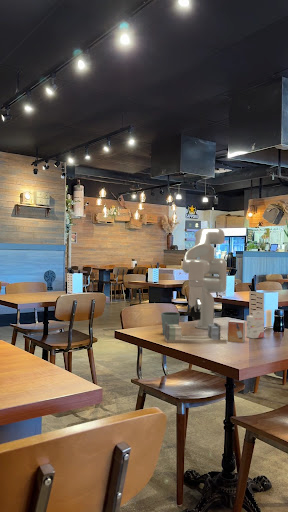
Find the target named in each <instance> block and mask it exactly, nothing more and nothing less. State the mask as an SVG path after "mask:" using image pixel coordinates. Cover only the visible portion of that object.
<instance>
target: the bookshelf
mask: <svg viewBox="0 0 288 512" xmlns="http://www.w3.org/2000/svg"><path fill="white" fill-rule="evenodd" d="M221 327H222V326H221V325H220V324H218V323H217V322H213V325H208V329H207V335H182V326H180V324H179V325H168V323H165V335H163V339H164V340H165V342H166V343H167V344H205V345H206V344H209V345H210V344H211V345H212V344H214V345H216V344H217V345H219V344H220V345H222V344H225V345H227V343H228V339H226V338H225V337H223V336H222V335H221V330H222V329H221Z"/></svg>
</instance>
